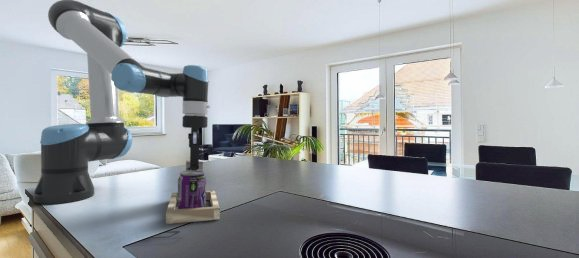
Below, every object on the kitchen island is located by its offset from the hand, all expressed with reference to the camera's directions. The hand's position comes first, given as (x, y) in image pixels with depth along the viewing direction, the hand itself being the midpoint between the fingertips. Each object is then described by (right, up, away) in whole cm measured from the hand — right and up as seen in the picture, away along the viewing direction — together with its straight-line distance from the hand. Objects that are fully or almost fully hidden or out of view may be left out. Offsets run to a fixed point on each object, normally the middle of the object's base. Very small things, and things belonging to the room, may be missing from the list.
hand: (194, 188), depth 88 cm
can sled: (+3, -4, -8) cm, 10 cm away
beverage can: (+4, -5, -14) cm, 15 cm away
